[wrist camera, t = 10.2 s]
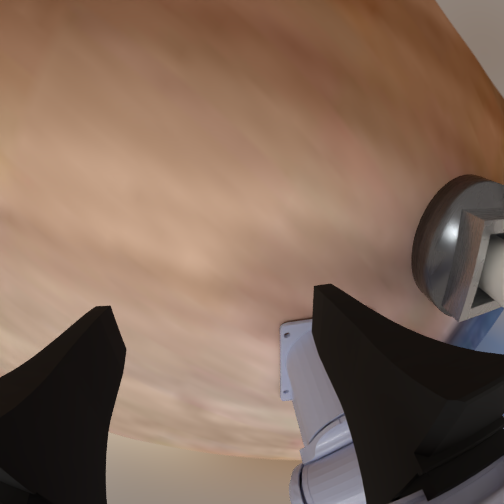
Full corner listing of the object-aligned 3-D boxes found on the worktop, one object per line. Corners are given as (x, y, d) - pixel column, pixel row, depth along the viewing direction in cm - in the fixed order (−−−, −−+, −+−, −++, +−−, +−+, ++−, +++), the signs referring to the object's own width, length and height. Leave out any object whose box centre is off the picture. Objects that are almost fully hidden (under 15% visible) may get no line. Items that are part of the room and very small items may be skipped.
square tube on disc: (485, 288, 25) (516, 315, 20) (400, 310, 24) (432, 348, 19) (507, 177, 20) (549, 194, 15) (420, 172, 19) (470, 190, 14)
